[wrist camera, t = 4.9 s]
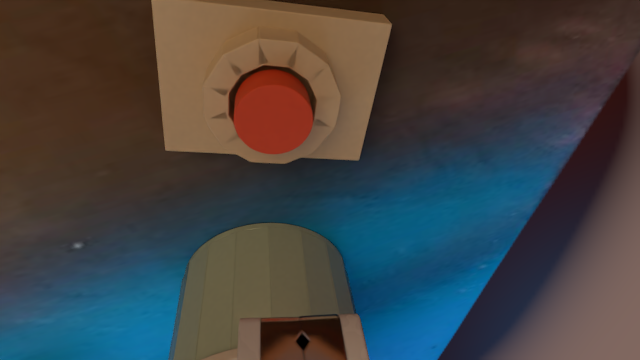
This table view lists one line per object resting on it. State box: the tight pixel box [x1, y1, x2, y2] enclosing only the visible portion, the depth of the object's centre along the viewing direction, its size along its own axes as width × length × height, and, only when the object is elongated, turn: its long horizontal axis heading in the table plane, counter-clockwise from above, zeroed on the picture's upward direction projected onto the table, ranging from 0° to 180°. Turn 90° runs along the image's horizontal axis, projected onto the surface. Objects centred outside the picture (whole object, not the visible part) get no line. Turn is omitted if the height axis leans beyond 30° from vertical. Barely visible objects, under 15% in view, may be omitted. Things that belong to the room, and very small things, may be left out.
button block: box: [151, 0, 392, 164], centre depth 21 cm, size 11×8×4 cm
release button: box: [233, 69, 313, 154], centre depth 19 cm, size 4×4×2 cm
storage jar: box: [168, 223, 356, 360], centre depth 29 cm, size 13×13×10 cm
